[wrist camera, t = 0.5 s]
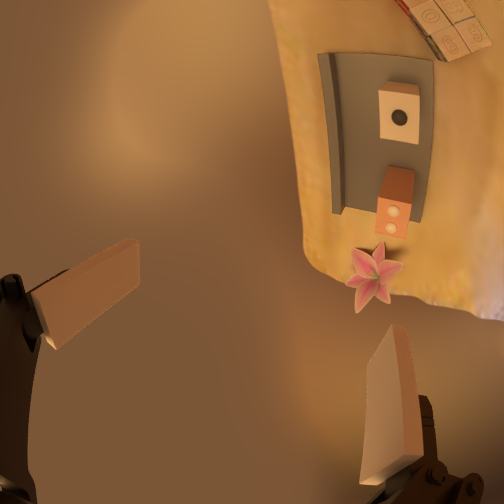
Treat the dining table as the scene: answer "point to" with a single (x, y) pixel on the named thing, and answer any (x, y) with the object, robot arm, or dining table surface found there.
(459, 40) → the stack of blocks
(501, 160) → the dining table surface
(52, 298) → the robot arm
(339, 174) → the tray
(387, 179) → the key two
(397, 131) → the key one
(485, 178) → the dining table surface
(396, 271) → the lily
